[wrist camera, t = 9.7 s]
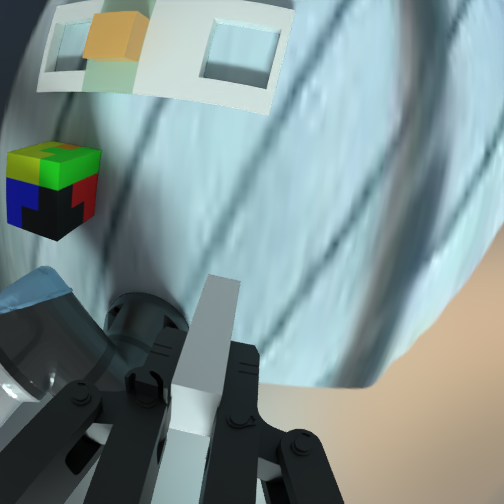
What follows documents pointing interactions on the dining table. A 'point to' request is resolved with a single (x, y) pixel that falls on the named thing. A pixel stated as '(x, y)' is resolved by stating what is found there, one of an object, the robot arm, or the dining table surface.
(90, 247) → the dining table surface
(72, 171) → the puzzle toy
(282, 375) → the dining table surface
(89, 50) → the orange block
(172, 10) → the plate
